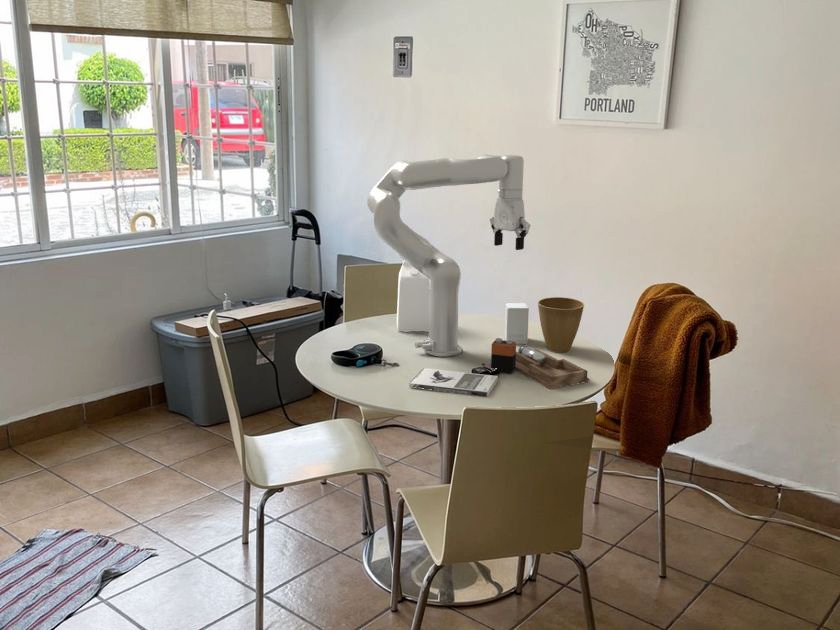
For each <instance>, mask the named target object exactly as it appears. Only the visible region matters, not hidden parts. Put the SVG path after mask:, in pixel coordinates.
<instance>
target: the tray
mask: <svg viewBox="0 0 840 630" xmlns="http://www.w3.org/2000/svg"><path fill="white" fill-rule="evenodd" d="M532 348H533V349H534V350H536V351H538V352H540V353H542V354H544V355H545V356H546V358H547V360H546V363H545V364H544V365H543V366H540V364H539V363H537V362H535V361H533V360H531V359H530V358H528V357H526V356H524V355H522V354H520V353H518V351H516V365H515V370H514V371H517V372H519V373H520V374H522V375H524V376H526V377H527V378H530V379H531V380H533V381H535V382H537V383H538V384H540V385H542V386H543V387H545V388H547V389H549V390H551V389H556V387H557V388H561V387H560V386H563V387H567V386H566V385H568V386H573V385H572V384H574V385H577V383H579V384H583V383H582V382H585V383H589V382H590V377H588V373H589V371H588V370H586V369H585V368H582V366H579V365H577V364H575V363H572V362H571V361H568V360H566V359H565V358H561V359H558V358H556V357H553V356H552V355H549V354H548V353H546V352H544V351H542V350H539V349H537V348H536V347H532ZM588 381H589V382H588Z"/></svg>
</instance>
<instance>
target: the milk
mask: <svg viewBox="0 0 840 630" xmlns="http://www.w3.org/2000/svg"><path fill="white" fill-rule="evenodd" d="M397 281H398V283H397V303H396V307H397V309H396V328H397V329H398V330H397V329H396V330H397V332H398V331H426V332H429V292H430V286H431V283H430V279H429V278H427V277H426V276H425V275H423V274H422V273H421V272H419V271H418V270H417V269H415V268H414V267H413V266H411V265H410V264H409V263H407V262H406V261H405V260H404V259H403V262H402V265H401V267H400V269H399V271H398V280H397Z"/></svg>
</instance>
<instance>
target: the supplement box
mask: <svg viewBox="0 0 840 630" xmlns="http://www.w3.org/2000/svg"><path fill="white" fill-rule="evenodd" d="M504 313H505V314H504V335H503V336H504V341H507V340H512V342H516V345H517V344H518V345H520V344H521V345H527V344H528V339H529V338H528V336H529V335H528V333H529V332H528V331H529V306H528V305H527V302H518V303H517V302H516V303H515V302H510V303H509V302H507V303H505V309H504Z"/></svg>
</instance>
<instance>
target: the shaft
mask: <svg viewBox="0 0 840 630" xmlns="http://www.w3.org/2000/svg"><path fill="white" fill-rule="evenodd" d="M533 348H534V347H531V346H529V345H527V344H521V346H519V348H518V351H517V352H518V353H520V354H522V355H524V356H526V357H528V358H530V359H531V360H533V361H535V362H537V363H539V364H540V366H543V365H544V364H545V363H546V360H547V358H546V356H545V355H544V354H542V353H540V352H538V351H536V350H534V349H533Z"/></svg>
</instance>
